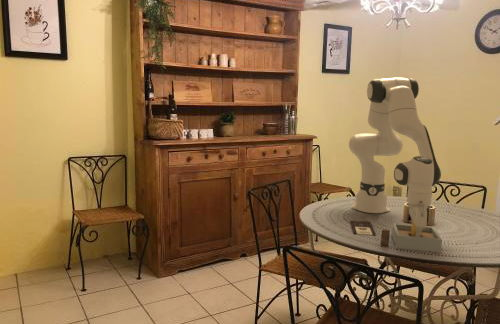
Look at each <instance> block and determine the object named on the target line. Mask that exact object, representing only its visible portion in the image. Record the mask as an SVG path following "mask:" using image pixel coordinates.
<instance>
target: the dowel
mask: <svg viewBox="0 0 500 324" xmlns="http://www.w3.org/2000/svg"><path fill="white" fill-rule="evenodd" d="M411 225H412V226H411V236H415V237H416V235H415V231H416V226H415V224H414V222H413V220H412V219H411Z"/></svg>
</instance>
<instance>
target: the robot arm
mask: <svg viewBox="0 0 500 324" xmlns="http://www.w3.org/2000/svg"><path fill="white" fill-rule="evenodd" d="M419 89H420V88H419V83H418V81H417V80H416V79H414V78H411V77H406V78H405V77H388V78H375V79H371V80H370V82H369V83H368V85H367V89H366V94H367V99H368V100H369V101H370V104H369V110H368V118H367V122H368V125H369V126H370V127H371V128H372V129H374V130H376V131H377V133H370V132H369V133H367V132H366V133H365V132H364V133H356V134H353V135H352V136H351V137H350V139H349V141H348V147H349V148H348V149H349V150H350V152H351V153H352V154H353V155H355V156H356V157H357V159H358V161H359V162H360V166H361V179H360V180H361V181H360V183H359V190H358V191H357V192H356V193H355V202H354V203H353V204H352V205H351V209H354V210H356V211H357V210H358V211H359V212H364V213H369V214H384V213H387V212H388V213H389V212H390V211H391V209H390V208H389V207H388V206H387V204H388V194H386V193H385V188H386V183H385V176H386V174H385V173H386V170H385V166H383V165H382V164H381V163H379V162H377V161H375V156H377V157H378V156H380V157H392V156H397V155H399V154H400V153H401V152H402V149H403V145H404V144H403V139H402V138H401V136H399V135H398V134H400V135H403V136H405V137H407V138H408V139H409V138H410V139H411V140H412V141H414V143H415V144H416V146H417V149H418V152H419V155H417V156H413V157H412V158H411V159H410V160H408V161H402V162H399V163H398V164H397V165H395V168H394V171H393V179H394V181H396V183H397V184H398V185H400V186H403V187H405V186H407V195H406V202H407V203H408V214H409V217H410V219H411V221H412V220H413V222H414V224H415V226H416V231H415V235H416V237H420V236H421V232H422V229H425V228H426V226H427V225H428V224H427V222H428V206H431V205H432V200H433V198H432V197H433V187H434V186H435V185H437V184H438V182H440V179H441V178H442V172H441V171H442V170H441V168H440V167H439V165H438V161H437V158H436V156H435V153H434V152H435V151H434V149H433V145H432V141H431V138H430V135H429V131H428V128H427V126H426V125H424V124H423V123H422V121H421V120H420V117H419V115H418V110H417V104H416V99H417V97H418V95H419ZM397 133H398V134H397Z"/></svg>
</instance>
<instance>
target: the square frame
mask: <svg viewBox="0 0 500 324" xmlns="http://www.w3.org/2000/svg"><path fill="white" fill-rule="evenodd" d="M411 226H412V224H404V223H394V222H393V223H392V228H391V229H392V230H391V236H392V240H393V242H394V246H395V249H401V250H412V251H420V252H429V251H431V252H430V253H438V254H441V253H442V245H443V244H442V243H443V239H442V237H441V236H440V234H439V232H438V231H437V229H436V228H435V227H434V226H427V225H426V228H425V229H422V232H421V236H420V237H415V236H411Z"/></svg>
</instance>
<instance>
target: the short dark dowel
mask: <svg viewBox="0 0 500 324" xmlns="http://www.w3.org/2000/svg"><path fill="white" fill-rule="evenodd" d="M390 233H391V232H390V230H389V229H386V228H382V229H381V233H380V236H381V237H380V238H381V239H380V246H382V247H385V248H386V247H389V243H390Z"/></svg>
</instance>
